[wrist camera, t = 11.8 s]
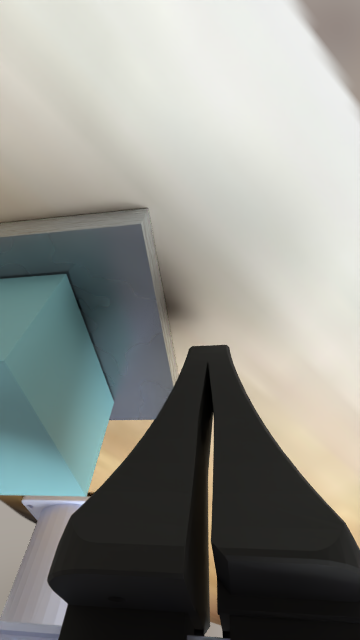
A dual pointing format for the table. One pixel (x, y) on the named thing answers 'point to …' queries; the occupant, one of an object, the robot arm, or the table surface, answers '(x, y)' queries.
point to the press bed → (106, 296)
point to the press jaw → (48, 390)
